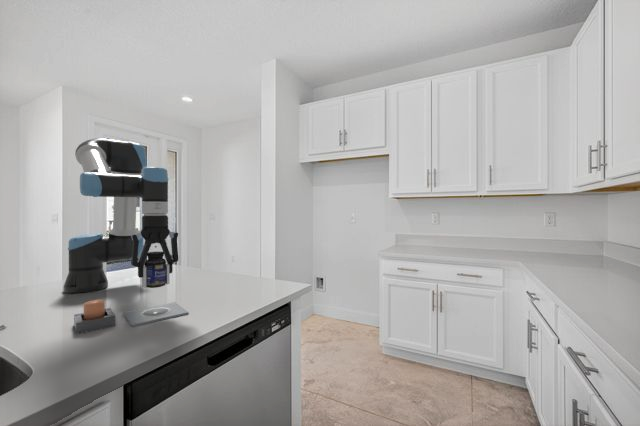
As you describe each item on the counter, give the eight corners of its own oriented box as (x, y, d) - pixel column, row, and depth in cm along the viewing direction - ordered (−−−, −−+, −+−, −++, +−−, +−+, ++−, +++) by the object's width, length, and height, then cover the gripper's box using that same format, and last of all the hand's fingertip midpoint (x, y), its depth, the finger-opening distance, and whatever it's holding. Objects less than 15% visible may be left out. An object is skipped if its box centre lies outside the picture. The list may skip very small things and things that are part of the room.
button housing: (74, 324, 89) (73, 314, 89) (110, 317, 95) (110, 307, 95) (76, 334, 82) (76, 323, 82) (115, 325, 89) (115, 315, 88)
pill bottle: (156, 288, 94) (156, 254, 94) (140, 287, 96) (139, 253, 95) (170, 283, 100) (170, 251, 100) (154, 282, 102) (154, 250, 101)
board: (123, 314, 98) (123, 312, 98) (175, 303, 109) (175, 301, 109) (132, 326, 88) (132, 324, 88) (188, 313, 98) (188, 311, 98)
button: (83, 318, 89) (82, 302, 89) (103, 314, 92) (103, 298, 92) (84, 323, 85) (84, 306, 85) (105, 319, 89) (105, 302, 89)
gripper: (122, 215, 88) (123, 293, 89) (189, 214, 101) (189, 282, 102) (118, 215, 94) (119, 288, 94) (182, 214, 107) (182, 278, 107)
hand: (155, 285), depth 98 cm, fingers closed on pill bottle, 6 cm apart
